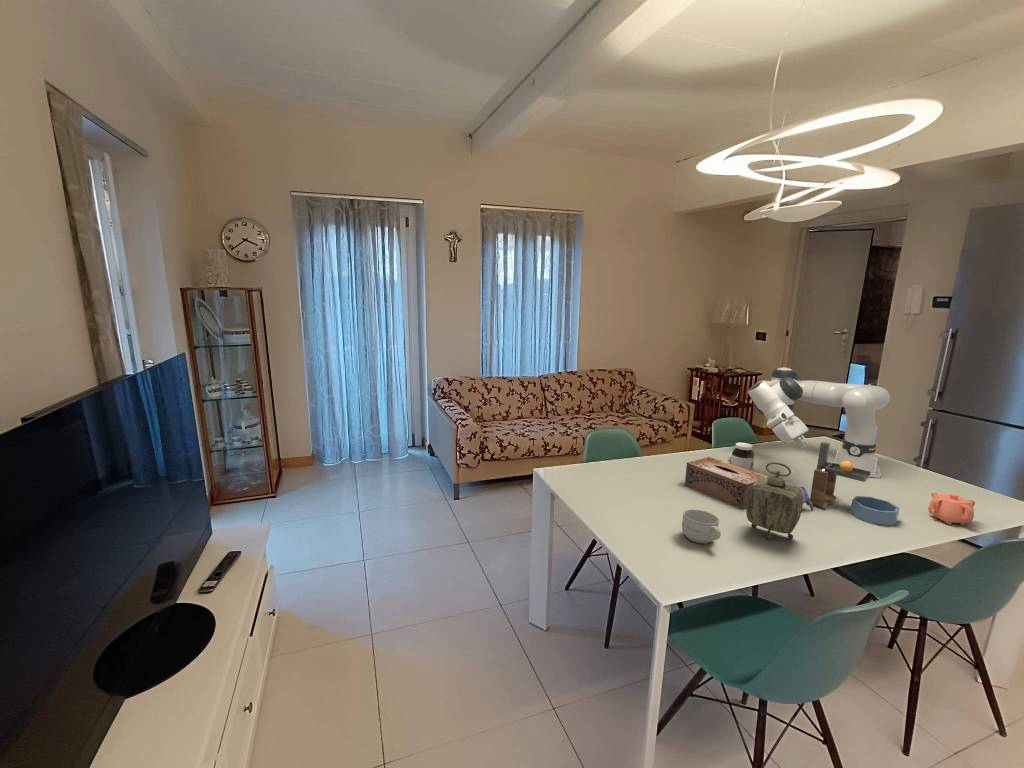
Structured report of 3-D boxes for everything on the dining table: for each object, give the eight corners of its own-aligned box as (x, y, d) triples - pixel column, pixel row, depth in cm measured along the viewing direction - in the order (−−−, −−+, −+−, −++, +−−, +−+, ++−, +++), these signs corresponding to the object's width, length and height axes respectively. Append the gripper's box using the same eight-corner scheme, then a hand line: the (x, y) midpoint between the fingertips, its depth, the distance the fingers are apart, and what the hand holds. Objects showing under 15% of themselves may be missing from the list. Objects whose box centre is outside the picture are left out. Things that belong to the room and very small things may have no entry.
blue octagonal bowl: (856, 505, 173) (858, 493, 172) (899, 518, 163) (902, 504, 162) (846, 515, 164) (849, 502, 163) (892, 529, 155) (894, 515, 154)
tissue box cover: (684, 485, 190) (686, 462, 188) (706, 478, 197) (708, 456, 195) (743, 510, 168) (746, 484, 166) (766, 501, 176) (769, 477, 174)
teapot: (928, 509, 170) (932, 485, 169) (973, 521, 161) (978, 495, 160) (922, 518, 163) (927, 493, 161) (969, 531, 154) (974, 504, 152)
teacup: (675, 530, 152) (677, 508, 150) (706, 529, 153) (708, 507, 151) (695, 553, 138) (697, 529, 137) (729, 552, 139) (732, 528, 138)
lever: (821, 466, 178) (825, 439, 176) (870, 478, 167) (874, 449, 165) (813, 472, 172) (817, 444, 170) (863, 485, 161) (868, 455, 159)
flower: (818, 490, 170) (794, 477, 170) (824, 507, 163) (798, 495, 163) (799, 503, 176) (776, 491, 176) (804, 521, 169) (780, 508, 169)
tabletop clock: (797, 539, 148) (808, 465, 143) (791, 550, 141) (802, 473, 136) (749, 524, 157) (757, 454, 153) (741, 533, 151) (749, 461, 146)
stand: (818, 494, 182) (823, 460, 180) (836, 499, 178) (841, 464, 175) (806, 504, 173) (811, 469, 170) (824, 510, 168) (830, 474, 166)
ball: (840, 468, 171) (842, 458, 170) (853, 472, 168) (855, 461, 167) (837, 471, 169) (839, 461, 168) (850, 474, 166) (852, 464, 165)
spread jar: (744, 474, 202) (746, 449, 200) (719, 466, 211) (722, 442, 209) (757, 469, 209) (760, 444, 207) (733, 461, 218) (736, 438, 216)
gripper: (783, 417, 191) (807, 445, 186) (764, 426, 178) (789, 456, 173) (797, 409, 187) (821, 437, 182) (778, 417, 174) (804, 448, 169)
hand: (805, 447), depth 177 cm, fingers closed
